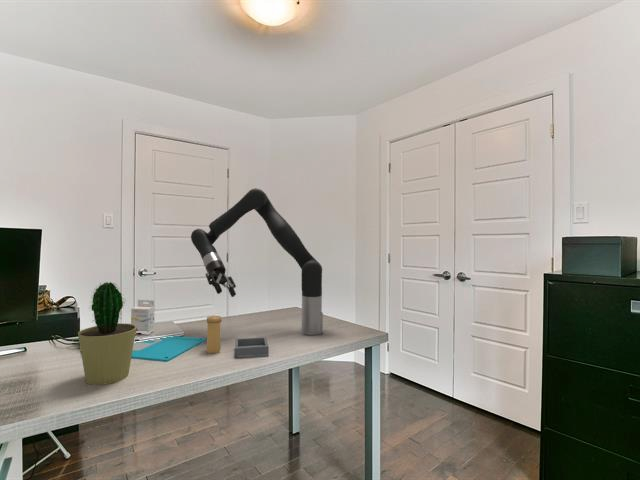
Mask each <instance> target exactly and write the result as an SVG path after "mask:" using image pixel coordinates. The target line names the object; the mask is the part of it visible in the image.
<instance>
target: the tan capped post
mask: <svg viewBox="0 0 640 480" xmlns="http://www.w3.org/2000/svg"><path fill="white" fill-rule="evenodd" d="M206 323H207V328H206V329H207V331H206V333H207V336H206V337H207V338H206V339H207V340H206V344H207V345H206V346H207V347H206V348H207V350H206V352H207V354H212V353H213V354H216V353H220V351H221V329H222V328H221V325H222V316H221V315H211V316H207V317H206Z"/></svg>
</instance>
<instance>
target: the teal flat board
mask: <svg viewBox="0 0 640 480" xmlns="http://www.w3.org/2000/svg"><path fill="white" fill-rule="evenodd" d="M172 336H173V337H166V338H160V339H154V340H148V341H144V342H136V343H134V345H133V351H132V357H131V359H135V360H136V359H137V360H146V361H156V362H170V361H172V360H174V359H175V358H177V357H179V356H181V355H183V354H184V353H186V352H188V351H190V350H192V349H193V348H195V347H197V346H199V345H200V344H202V343H204V342H207V338H206V337H194V336H193V337H192V336H180V335H179V336H178V335H172Z"/></svg>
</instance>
